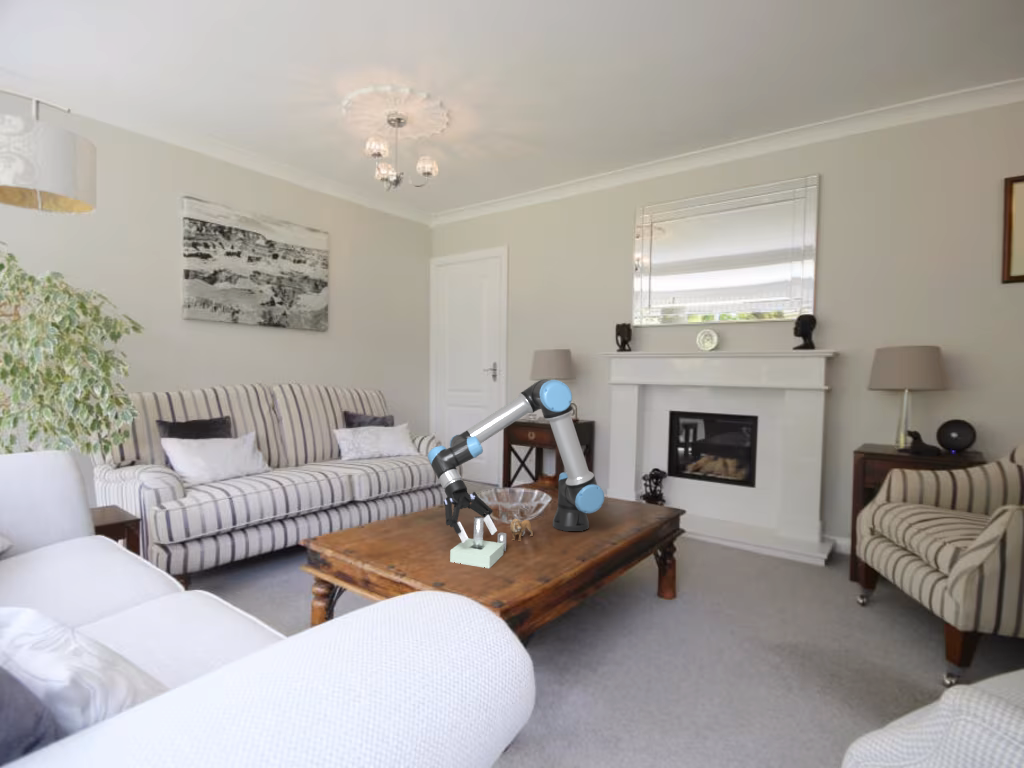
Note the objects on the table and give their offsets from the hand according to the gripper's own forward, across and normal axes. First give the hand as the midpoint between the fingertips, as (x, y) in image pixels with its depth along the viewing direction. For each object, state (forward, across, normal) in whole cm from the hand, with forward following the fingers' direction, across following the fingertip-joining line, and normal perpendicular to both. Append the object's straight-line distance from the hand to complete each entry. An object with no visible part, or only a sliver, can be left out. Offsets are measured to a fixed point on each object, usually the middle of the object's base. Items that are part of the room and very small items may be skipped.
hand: (480, 536), depth 181 cm
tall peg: (+4, 0, -6) cm, 8 cm away
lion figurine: (+2, -27, -9) cm, 29 cm away
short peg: (+4, -12, -6) cm, 14 cm away
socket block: (+4, 0, -6) cm, 8 cm away
